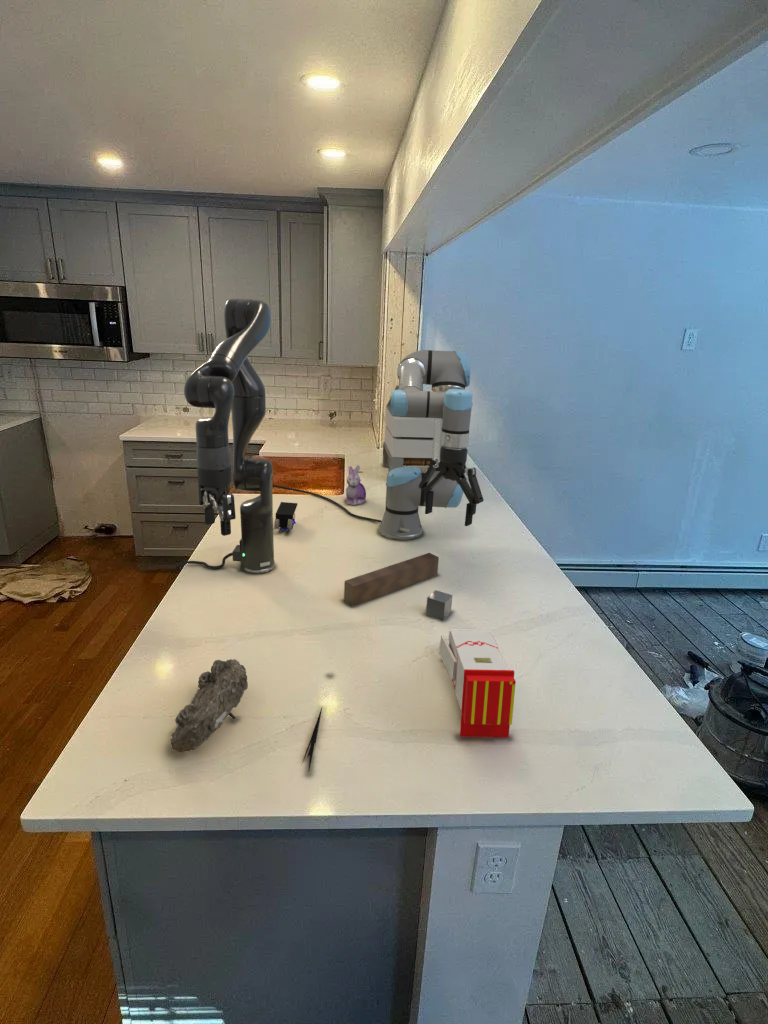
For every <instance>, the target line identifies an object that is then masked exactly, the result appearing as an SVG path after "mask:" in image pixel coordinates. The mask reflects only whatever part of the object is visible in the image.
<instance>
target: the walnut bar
mask: <svg viewBox="0 0 768 1024" xmlns="http://www.w3.org/2000/svg"><path fill="white" fill-rule="evenodd" d="M439 559H440V558H439V556H438V555H435V554H433V553H431V552H427V553H424V554H420V555H418V556H415V557H412V558H409V559H406V560H403V561H400V562H397V563H394V564H391V565H389V566H385V567H381V568H379V569H376V570H373V571H370V572H367V573H363V574H361V575H358V576H355V577H352V578H349V579H345V580H344V583H343V584H344V586H343V587H344V589H343V601H344V602H345V603H347V604H348V605H350V606H352V607H355V606H359V605H361V604H364V603H366V602H368V601H372V600H375V599H377V598H380V597H383V596H385V595H387V594H391V593H393V592H396V591H398V590H401V589H404V588H406V587H409V586H412V585H415V584H418V583H420V582H423V581H426V580H428V579H431V578H433V577H436V576H438V572H439Z"/></svg>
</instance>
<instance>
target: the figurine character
mask: <svg viewBox="0 0 768 1024" xmlns="http://www.w3.org/2000/svg"><path fill="white" fill-rule="evenodd" d="M297 507H298V502H287V501H285V502H284V501H281V502H280V504H279V506H278V508H277V510H276V512H275V519H274V521H273V530H274V529H275V530H278V533H279V534H281V533H282V531H286V534H289V533H290V530H292V529H293V527H294V526H295V525H296V524H297V521H296V513H295V512H296V510H297Z"/></svg>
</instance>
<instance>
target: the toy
mask: <svg viewBox="0 0 768 1024" xmlns="http://www.w3.org/2000/svg"><path fill="white" fill-rule="evenodd" d="M438 654H439V656H440V658H441V660H442V662H443V665H444V666H445V668H446V671H447V673H448V675H449V677H450V681H451V683H452V685H453V689H454V690H455V695H456V698H457V702H458V705H459V708H460V726H459V737H460V738H509V737H510V728H511V727H510V726H512V725H513V717H514V706H515V705H514V704H515V693H516V684H517V683H516V679H515V670H514V669H510V667H509V666H508V663H507V662H506V660H505V658H504V655H503V654H502V652H501V650H500V648H499V644H498V642H497V638H496V635H495V634H492V632H491V631H490V629H467V628H466V629H465V628H463V629H461V628H460V629H459V628H450V629H449V631H448V641H447V639H446V638H445V636H444V634H443V635H442V634H441V635H440V641H439V651H438Z"/></svg>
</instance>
